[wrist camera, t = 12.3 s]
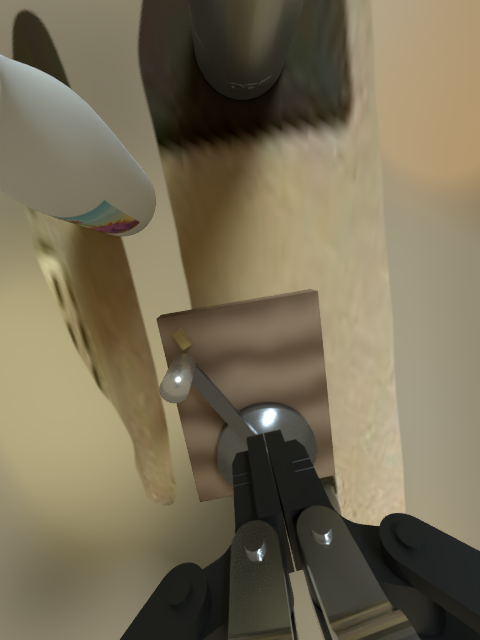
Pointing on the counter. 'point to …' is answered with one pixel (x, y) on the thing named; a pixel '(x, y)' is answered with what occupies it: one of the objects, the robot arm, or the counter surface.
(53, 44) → the counter surface
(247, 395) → the stand
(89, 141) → the milk bottle
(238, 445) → the gray disc with handle
